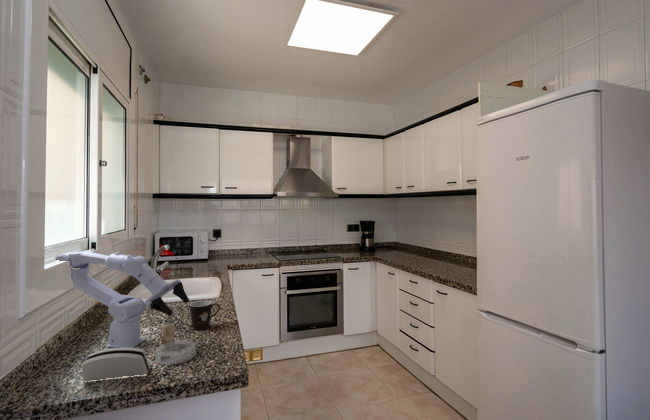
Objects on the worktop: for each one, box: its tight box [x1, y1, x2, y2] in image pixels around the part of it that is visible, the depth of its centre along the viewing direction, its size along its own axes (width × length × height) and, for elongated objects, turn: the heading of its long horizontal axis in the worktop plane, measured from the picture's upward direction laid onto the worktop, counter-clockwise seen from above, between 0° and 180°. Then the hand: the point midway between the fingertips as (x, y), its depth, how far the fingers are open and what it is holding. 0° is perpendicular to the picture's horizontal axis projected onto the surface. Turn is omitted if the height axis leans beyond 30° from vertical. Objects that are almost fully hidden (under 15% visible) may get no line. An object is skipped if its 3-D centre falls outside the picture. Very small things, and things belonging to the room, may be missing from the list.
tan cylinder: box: [161, 323, 175, 345], centre depth 117 cm, size 4×4×7 cm
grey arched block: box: [82, 347, 152, 382], centre depth 95 cm, size 17×5×10 cm, turn 103°
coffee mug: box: [189, 300, 221, 332], centre depth 135 cm, size 12×9×10 cm
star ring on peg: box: [155, 339, 197, 365], centre depth 108 cm, size 12×12×3 cm
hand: (179, 307), depth 117 cm, fingers open, 7 cm apart
